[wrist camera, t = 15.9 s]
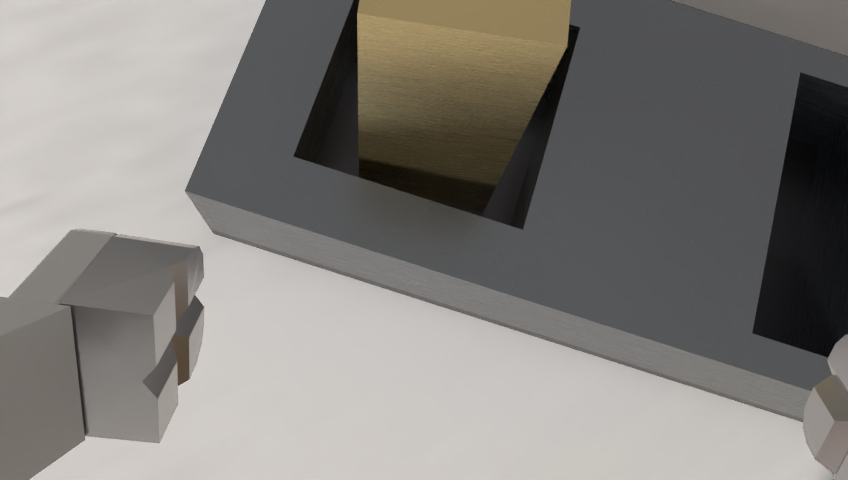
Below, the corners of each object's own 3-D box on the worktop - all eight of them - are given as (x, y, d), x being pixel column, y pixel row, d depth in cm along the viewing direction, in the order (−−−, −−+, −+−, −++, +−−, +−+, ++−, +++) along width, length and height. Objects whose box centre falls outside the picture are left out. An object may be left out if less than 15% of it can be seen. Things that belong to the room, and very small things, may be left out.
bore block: (213, 233, 24) (185, 190, 20) (320, -31, 26) (314, -113, 23) (894, 451, 24) (997, 451, 20) (930, 162, 26) (1027, 113, 22)
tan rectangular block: (358, 190, 24) (357, 13, 14) (377, 75, 25) (386, -161, 15) (485, 208, 24) (567, 46, 14) (497, 93, 25) (581, -128, 16)
